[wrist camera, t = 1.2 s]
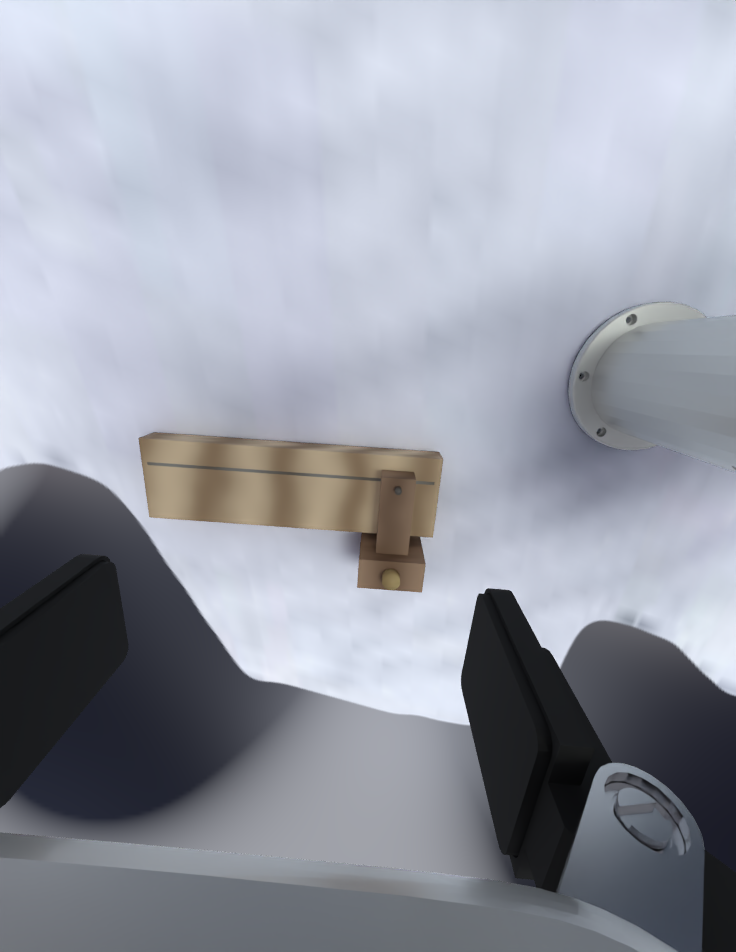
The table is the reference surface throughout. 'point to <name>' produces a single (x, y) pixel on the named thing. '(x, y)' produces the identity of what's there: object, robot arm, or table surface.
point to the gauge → (393, 539)
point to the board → (281, 482)
